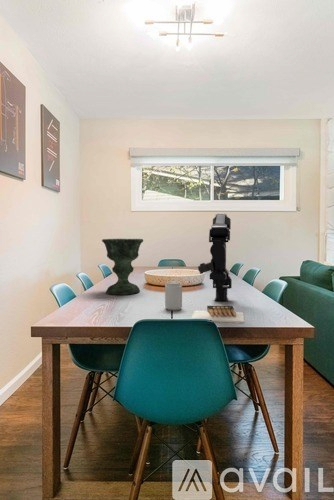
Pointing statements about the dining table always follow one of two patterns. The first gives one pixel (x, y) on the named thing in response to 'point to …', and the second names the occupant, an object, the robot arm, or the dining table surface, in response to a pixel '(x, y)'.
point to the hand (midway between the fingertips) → (218, 294)
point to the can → (173, 295)
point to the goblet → (122, 263)
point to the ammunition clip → (221, 310)
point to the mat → (219, 317)
